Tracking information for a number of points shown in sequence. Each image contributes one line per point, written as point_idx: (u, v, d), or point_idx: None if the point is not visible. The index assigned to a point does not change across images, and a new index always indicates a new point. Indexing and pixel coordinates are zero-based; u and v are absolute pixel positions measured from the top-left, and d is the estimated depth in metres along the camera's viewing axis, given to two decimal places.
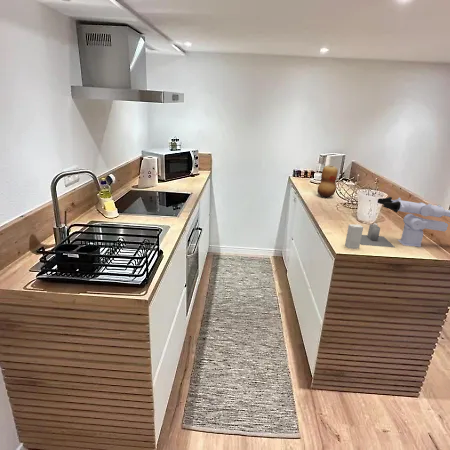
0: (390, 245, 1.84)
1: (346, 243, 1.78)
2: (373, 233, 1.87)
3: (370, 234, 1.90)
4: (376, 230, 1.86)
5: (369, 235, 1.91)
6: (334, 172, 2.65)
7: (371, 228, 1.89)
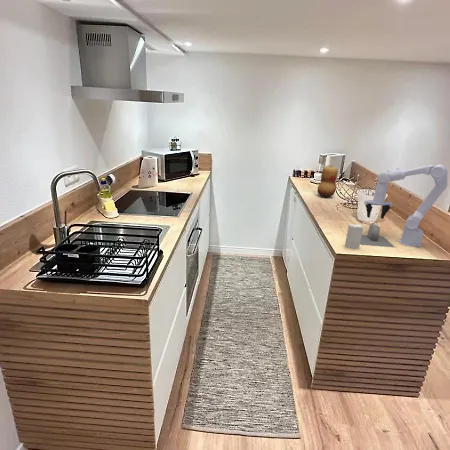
0: (390, 245, 1.84)
1: (346, 243, 1.78)
2: (373, 233, 1.87)
3: (370, 234, 1.90)
4: (376, 230, 1.86)
5: (369, 235, 1.91)
6: (334, 172, 2.65)
7: (371, 228, 1.89)
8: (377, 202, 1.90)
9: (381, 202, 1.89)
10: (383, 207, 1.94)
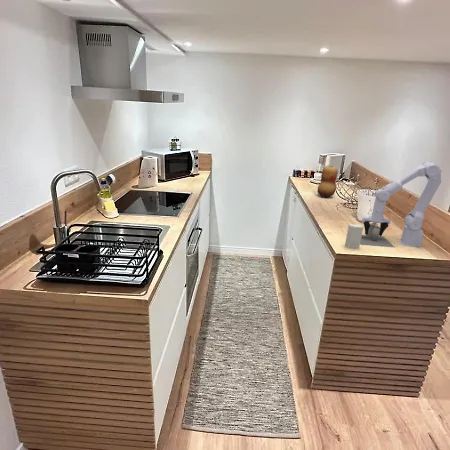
0: (390, 245, 1.84)
1: (346, 243, 1.78)
2: (373, 233, 1.87)
3: (370, 234, 1.90)
4: (376, 230, 1.86)
5: (369, 235, 1.91)
6: (334, 172, 2.65)
7: (371, 228, 1.89)
8: (375, 220, 1.86)
9: (379, 220, 1.85)
10: (381, 224, 1.90)
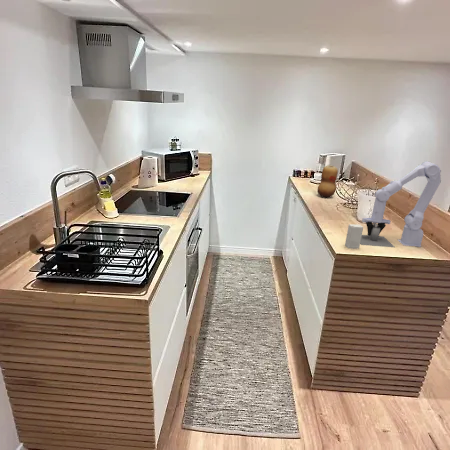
0: (390, 245, 1.84)
1: (346, 243, 1.78)
2: (373, 233, 1.87)
3: None
4: (376, 230, 1.86)
5: None
6: (334, 172, 2.65)
7: None
8: (375, 220, 1.86)
9: (379, 220, 1.85)
10: (378, 224, 1.90)
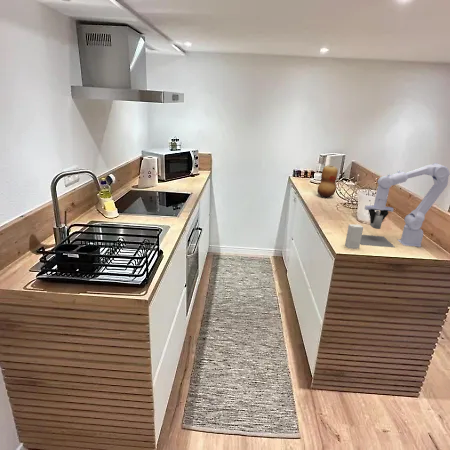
0: (390, 245, 1.84)
1: (346, 243, 1.78)
2: (376, 221, 1.85)
3: (373, 222, 1.87)
4: (379, 217, 1.84)
5: (372, 223, 1.89)
6: (334, 172, 2.65)
7: None
8: (378, 207, 1.83)
9: (382, 207, 1.83)
10: (381, 212, 1.87)
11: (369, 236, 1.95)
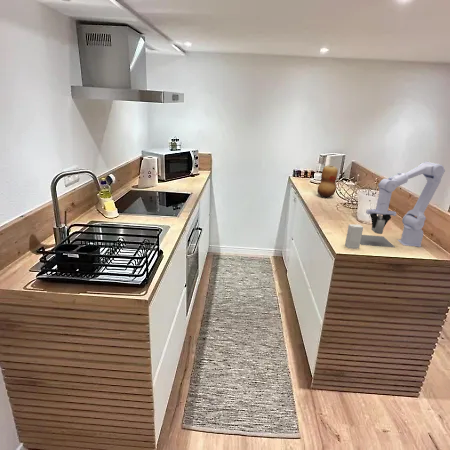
0: (390, 245, 1.84)
1: (346, 243, 1.78)
2: (378, 225, 1.78)
3: None
4: (381, 222, 1.76)
5: (373, 228, 1.81)
6: (334, 172, 2.65)
7: None
8: (380, 211, 1.76)
9: (384, 211, 1.75)
10: (383, 216, 1.80)
11: (369, 236, 1.95)
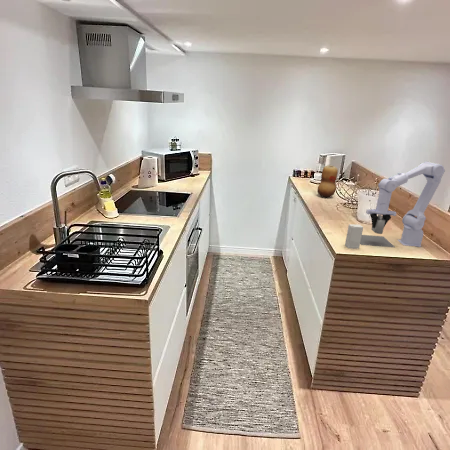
0: (390, 245, 1.84)
1: (346, 243, 1.78)
2: (378, 225, 1.78)
3: None
4: (381, 222, 1.76)
5: (373, 228, 1.81)
6: (334, 172, 2.65)
7: None
8: (380, 211, 1.76)
9: (384, 211, 1.75)
10: (383, 216, 1.80)
11: (369, 236, 1.95)
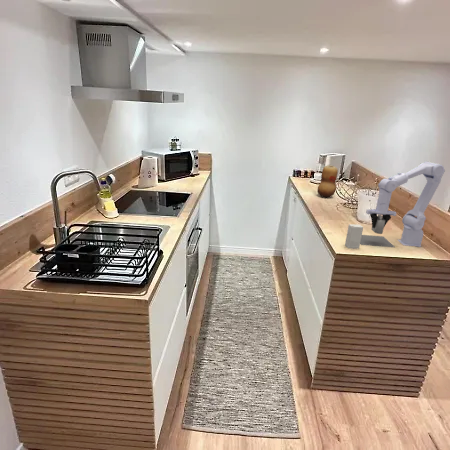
0: (390, 245, 1.84)
1: (346, 243, 1.78)
2: (378, 225, 1.78)
3: None
4: (381, 222, 1.76)
5: (373, 228, 1.81)
6: (334, 172, 2.65)
7: None
8: (380, 211, 1.76)
9: (384, 211, 1.75)
10: (383, 216, 1.80)
11: (369, 236, 1.95)
